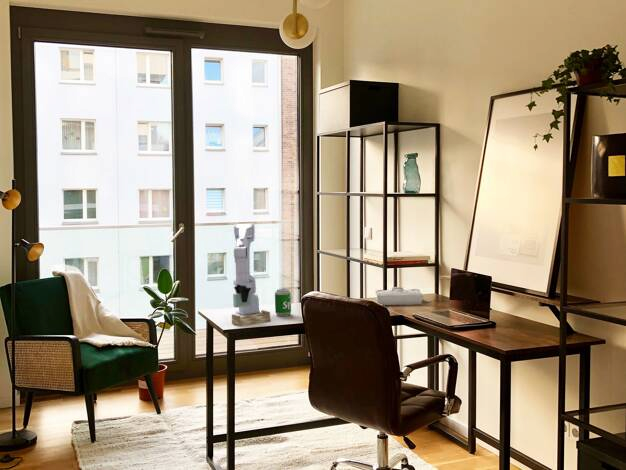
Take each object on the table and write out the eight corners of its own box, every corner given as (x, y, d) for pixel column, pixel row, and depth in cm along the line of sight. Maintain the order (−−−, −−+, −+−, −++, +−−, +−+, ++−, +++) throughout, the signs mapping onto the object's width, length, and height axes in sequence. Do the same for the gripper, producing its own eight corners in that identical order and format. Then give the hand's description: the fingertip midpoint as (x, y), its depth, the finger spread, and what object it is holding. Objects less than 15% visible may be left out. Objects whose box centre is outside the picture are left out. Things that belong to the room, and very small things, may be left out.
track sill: (263, 318, 331) (263, 310, 331) (270, 320, 326) (270, 311, 325) (231, 323, 322) (231, 314, 322) (238, 325, 317) (237, 316, 316)
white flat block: (432, 306, 352) (432, 290, 352) (376, 307, 354) (375, 291, 354) (428, 300, 372) (428, 285, 371) (375, 301, 373) (374, 286, 373)
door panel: (249, 304, 333) (248, 292, 332) (251, 305, 330) (251, 292, 330) (233, 307, 328) (233, 294, 328) (236, 307, 326) (235, 294, 326)
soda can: (278, 317, 334) (277, 291, 333) (273, 314, 341) (272, 289, 340) (293, 315, 337) (292, 290, 336) (288, 312, 344) (287, 288, 343)
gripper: (227, 272, 332) (228, 300, 333) (241, 274, 320) (242, 304, 321) (240, 270, 336) (241, 299, 337) (255, 273, 324) (256, 302, 325)
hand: (243, 301), depth 329 cm, fingers closed on door panel, 3 cm apart
